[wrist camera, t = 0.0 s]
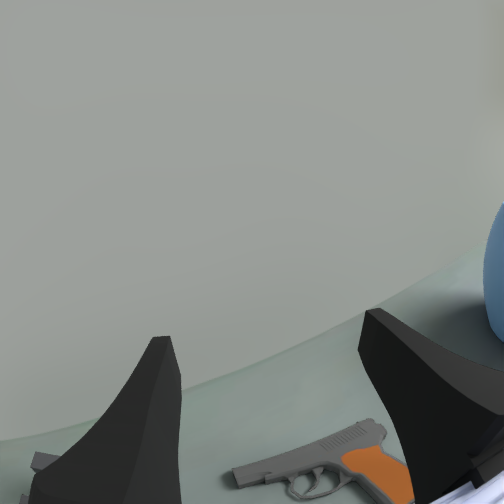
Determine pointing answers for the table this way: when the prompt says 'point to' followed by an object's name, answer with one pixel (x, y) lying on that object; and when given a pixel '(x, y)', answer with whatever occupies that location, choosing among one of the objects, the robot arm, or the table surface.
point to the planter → (495, 275)
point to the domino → (24, 499)
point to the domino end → (42, 461)
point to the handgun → (339, 465)
